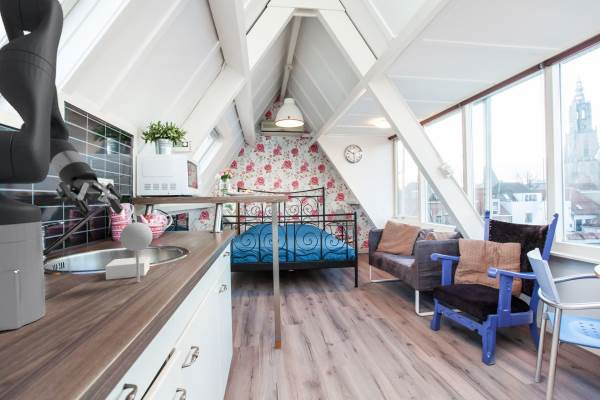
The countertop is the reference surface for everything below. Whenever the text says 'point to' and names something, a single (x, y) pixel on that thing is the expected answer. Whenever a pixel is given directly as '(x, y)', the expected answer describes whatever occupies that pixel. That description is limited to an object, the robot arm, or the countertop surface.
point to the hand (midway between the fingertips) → (105, 213)
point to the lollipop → (136, 240)
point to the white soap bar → (126, 268)
